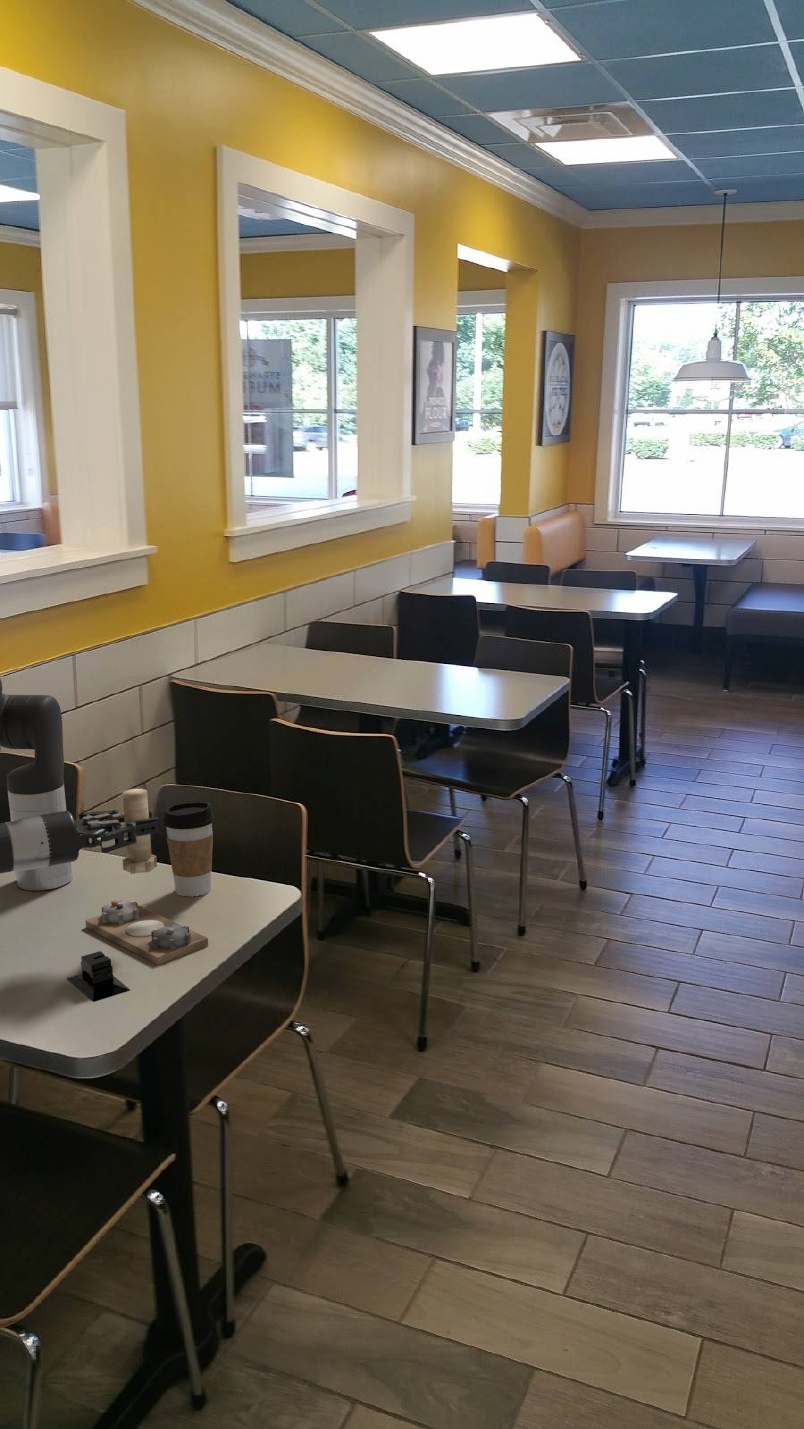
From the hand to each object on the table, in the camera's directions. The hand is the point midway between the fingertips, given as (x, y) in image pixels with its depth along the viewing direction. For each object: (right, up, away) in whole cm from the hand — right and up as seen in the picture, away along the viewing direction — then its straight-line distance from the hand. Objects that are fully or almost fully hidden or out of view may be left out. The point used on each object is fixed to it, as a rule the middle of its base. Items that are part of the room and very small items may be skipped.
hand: (155, 820), depth 174 cm
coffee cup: (+2, -14, +21) cm, 25 cm away
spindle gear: (-2, -7, 0) cm, 8 cm away
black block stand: (-5, -23, -12) cm, 26 cm away
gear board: (-2, -18, +3) cm, 18 cm away
